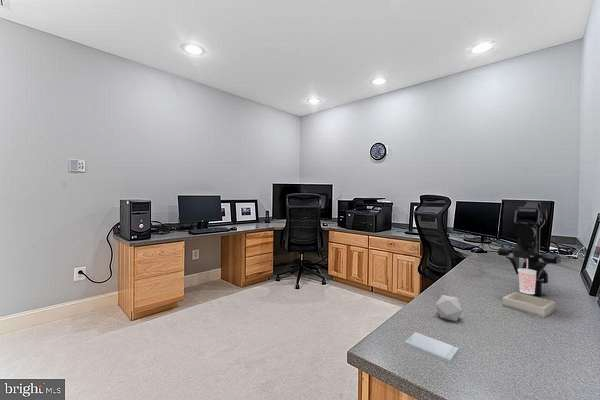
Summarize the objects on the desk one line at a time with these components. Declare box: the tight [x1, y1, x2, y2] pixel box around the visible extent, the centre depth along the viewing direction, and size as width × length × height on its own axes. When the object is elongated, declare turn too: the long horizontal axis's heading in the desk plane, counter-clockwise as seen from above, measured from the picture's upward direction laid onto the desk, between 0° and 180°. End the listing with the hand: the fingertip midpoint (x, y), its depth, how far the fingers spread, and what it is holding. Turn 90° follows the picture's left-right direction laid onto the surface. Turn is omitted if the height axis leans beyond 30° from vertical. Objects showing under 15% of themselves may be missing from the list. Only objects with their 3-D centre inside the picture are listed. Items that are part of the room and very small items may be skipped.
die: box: [435, 294, 463, 322], centre depth 96 cm, size 8×9×10 cm
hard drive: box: [404, 331, 460, 364], centre depth 77 cm, size 2×8×12 cm
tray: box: [502, 291, 556, 319], centre depth 106 cm, size 13×13×4 cm
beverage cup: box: [518, 259, 536, 295], centre depth 106 cm, size 6×6×14 cm
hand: (527, 276), depth 106 cm, fingers closed on beverage cup, 6 cm apart
